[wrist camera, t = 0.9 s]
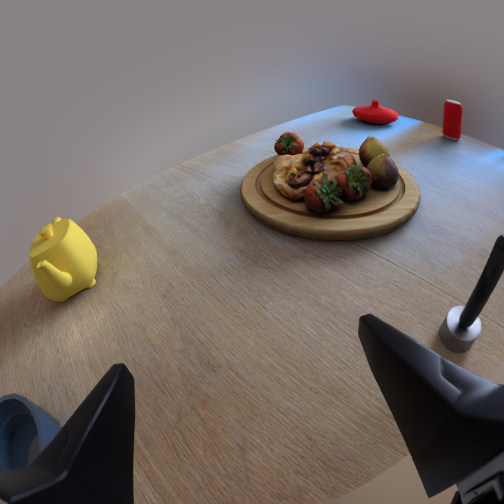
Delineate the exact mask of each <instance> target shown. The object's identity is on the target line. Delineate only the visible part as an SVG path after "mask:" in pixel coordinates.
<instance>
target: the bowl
mask: <svg viewBox="0 0 504 504" xmlns="http://www.w3.org/2000/svg"><path fill="white" fill-rule="evenodd" d="M60 430H61V427H60V425H59V423H58V421H57V420H56V419H54V418H53V417H52V416H51V415H50V414H49V413H48V412H47V411H45V410H43V409H42V408H40V407H39V406H37V405H36V404H34V403H33V402H31V401H30V400H29V399H27V398H26V397H23V396H21V395H18V394H15V393H14V394H8V395H4V396H3V397H1V398H0V471H5V470H11V469H16V468H21V467H24V466H26V465H28V464H30V463H31V462H32V461H33V460H34V459H35V458H36V457H37V456H38V455H39V454H40V453H41V452H42V451H43V450H44V448H45V447H46V446H47V445H48V444H49V443H50V442H51V441H52V440H53V439H54V437H55V436H56V435H57V434H58V432H59V431H60Z"/></svg>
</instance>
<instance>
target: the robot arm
mask: <svg viewBox="0 0 504 504" xmlns="http://www.w3.org/2000/svg"><path fill="white" fill-rule="evenodd" d="M358 335H359V339H360V341H361V344H362V347H363V349H364V352H365V355H366V358H367V360H368V363H369V366H370V369H371V371H372V373H373V375H374V377H375V379H376V381H377V383H378V385H379V387H380V389H381V392H382V394H383V396H384V398H385V400H386V402H387V404H388V406H389V408H390V410H391V412H392V415H393V417H394V419H395V421H396V423H397V425H398V427H399V430H400V432H401V434H402V436H403V438H404V441H405V443H406V445H407V447H408V450H409V452H410V454H411V456H412V459H413V461H414V464H415V466H416V469H417V471H418V473H419V476H420V478H421V481H422V483H423V486H424V488H425V490H426V493H427V495H428V497H429V498H431V497H432V496H435V495H436V494H438V493H440V492H442V491H444V490H446V489H447V488H449V487H451V486H453V485H454V484H456V485H457V488H458V491H457V492H456V493H455V495H454V497H453V500H452V502H451V504H504V385H501V384H497V383H494V382H491V381H489V380H487V379H485V378H483V377H480V376H478V375H476V374H474V373H472V372H469V371H467V370H465V369H463V368H461V367H459V366H458V365H456V364H454V363H452V362H451V361H449V360H447V359H445V358H444V357H442V356H441V357H440V355H439V354H437V353H435V352H434V351H432V350H430V349H429V348H427V347H425V346H424V345H422V344H420V343H419V342H417V341H415V340H414V339H412V338H410V337H409V336H407V335H405V334H404V333H402V332H400V331H399V330H397V329H395V328H394V327H392V326H390V325H389V324H387V323H385V322H384V321H382V320H380V319H379V318H377V317H375V316H374V315H372V314H367V315H363V316H361V317H360V319H359V329H358ZM134 429H135V387H134V377H133V375H132V374H131V373H130V371H129V370H128V368H127V367H126V366H125V365H124V364H123V363H120V364H114V365H113V366H112V367H111V368H110V369H109V370H108V372H107V373H106V374H105V375H104V377H103V378H102V379H101V380H100V381H99V383H98V384H97V385H96V386H95V387H94V389H93V390H92V391H91V392H90V394H89V395H88V396H87V397H86V399H85V400H84V401H83V402H82V404H81V405H80V406H79V407H78V409H77V410H76V411H75V412H74V414H73V415H72V416H71V417H70V419H69V420H68V421H67V422H66V424H65V425H64V426H63V427H62V429H61V430H60V431H59V432H58V434H57V435H56V436H55V437H54V439H53V440H52V441H51V442H50V443H49V444H48V445H47V446H46V447H45V448H44V450H43V451H42V452H41V453H40V454H39V455H38V456H37V457H36V458H35V459H34V460H33V461H32V462H31V463H30V464H28V465H26V466H24V467H21V468H16V469H11V470H5V471H0V504H134V494H133V455H134Z"/></svg>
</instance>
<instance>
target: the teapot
mask: <svg viewBox="0 0 504 504" xmlns="http://www.w3.org/2000/svg"><path fill="white" fill-rule="evenodd" d="M30 261H31V265H32V269H33V272H34V276H35V278H36V281H37V283H38V285H39V287H40V289H41V291H42V292H43V294H44V295H45V296H46V297H47V298H49V299H51V300H54V301H61V302H64V301H66V300H67V299H68V298H69V297H70V296H72V295H74V294H76V293H77V292H79V291H81V290H83V289H84V288H87V289H88V288H91V287H92V286H94V284H95V283H96V280H95V279H94V278H95V275H96V271H97V252H96V249H95V246H94V245H93V243H92V242H91V240H90V239H89V237H88V236H87V235H86V234H85V232H84V231H83V230H82V229H81V228H80V227H79V226H77V225H76V224H75V223H74V222H73V221H71V220H70V219H69V218H64V219H62V220H61V218H60V217H56V218H55V219H54V220H53V222H52V225H51V224H47V225H45V226H44V227H43V228H42V229H41V230H40V231H39V234H38V235H37V236H36V237H35V239H34V241H33V243H32V245H31V248H30Z"/></svg>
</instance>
